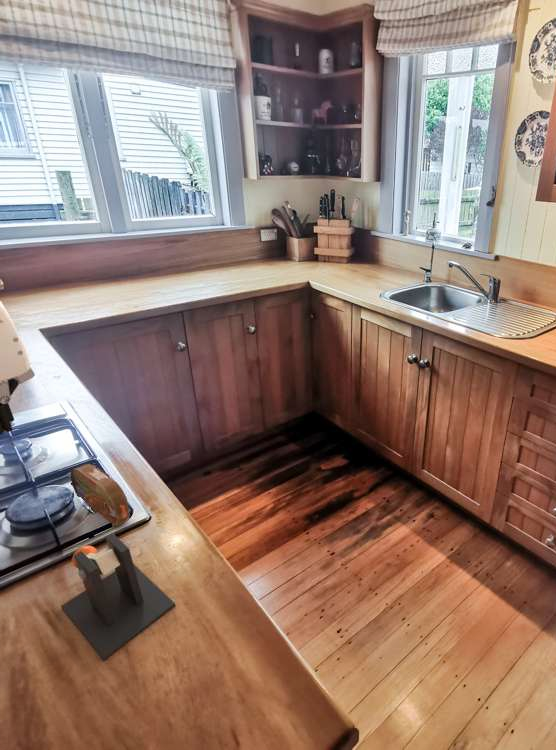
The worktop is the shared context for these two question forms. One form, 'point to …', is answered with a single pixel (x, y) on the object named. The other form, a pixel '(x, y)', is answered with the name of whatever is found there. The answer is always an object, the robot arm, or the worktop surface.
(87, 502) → the mottled brown oval slab
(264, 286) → the worktop surface
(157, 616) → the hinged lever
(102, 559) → the lever with orange knob
